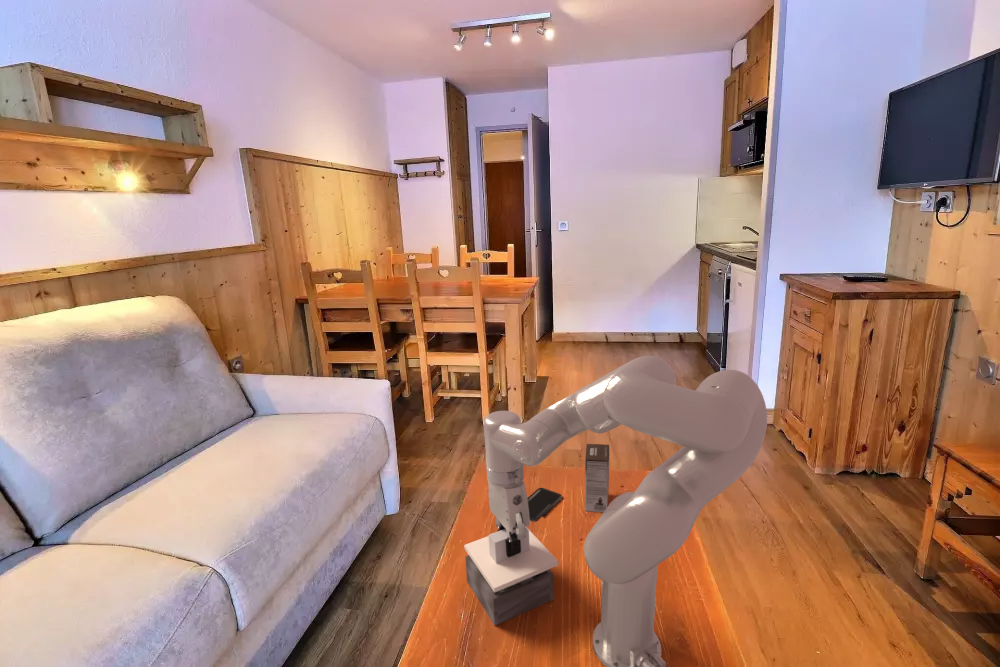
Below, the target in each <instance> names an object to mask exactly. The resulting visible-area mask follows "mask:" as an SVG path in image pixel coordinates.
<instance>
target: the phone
mask: <svg viewBox="0 0 1000 667" xmlns="http://www.w3.org/2000/svg"><path fill="white" fill-rule="evenodd" d="M527 499H528V507H529V518H530V522H532V523H533V522H537V521H538V520H540V519H541V518H544V517H545V516H546V515H547V514H548V513H549V512H550V511H551V510H552V509H553V508H554V507H555V506H556V505H557V504H558V503H559V502H560V501H561V500H562V499H563V496H562V494H561V493H558V492H555V491H552V490H551V489H548V488H545V487H538V488H537V489H536V490H535V491H534V492H533V493H532V494H530V495H529V496H527Z"/></svg>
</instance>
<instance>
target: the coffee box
mask: <svg viewBox="0 0 1000 667" xmlns="http://www.w3.org/2000/svg"><path fill="white" fill-rule="evenodd" d="M584 457H585V461H584V462H585V463H584V464H585V466H584V474H585V476H584V479H585V480H584V482H585V483H584V487H585V488H584V511H585V512H591V513H592V512H593V513H594V512H595V513H603V512H604V511H605V510H606V508H607V507H608V505H609V492H610V491H609V489H610V486H609V485H610V482H609V481H610V445H609V444H602V443H601V444H600V443H586V445H585V456H584Z"/></svg>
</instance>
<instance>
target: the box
mask: <svg viewBox="0 0 1000 667" xmlns="http://www.w3.org/2000/svg"><path fill="white" fill-rule="evenodd" d="M465 571H466V581H467V583H468V585H469V587H470V588H471V589H472V592H473V593H474V595H475V597H476V598H477V599H478V601H479V603H480V605H481V607H482V608H483V610H484V611H485V613H486V614H487V615H488V618H489V619H490V620H491V621H490V622H491V623H492V624H493V626H498V625H500V624H502V623H504V622H507V621H509V620H511V619H513V618H516V617H518V616H520V615H522V614H525V613H527V612H529V611H531V610H533V609H536V608H538V607H540V606H542V605H544V604H547V603H549V602H552V601H554V597H555V596H554V572H552V570H551V569H549V570H546V571H544V572H542V573H539V574H537V575H535V576H532V577H530V578H528V579H525V580H523V581H521V584H520V585H518V586H516V587H513V588H511V589H508V590H506V591H504V592H501V593H500V591H497V592H495V593H494V591H493V590H492V588H491V587H490V585H489V584H488V582H487V581H486V579H485V578H484V577H483V575H482V574H481V572H480V571H479V569H478V568H477V566H476V565H475V563H474V562H473V560H472V559H471V557H470V556H469V555H468V554H467V555H466V556H465Z"/></svg>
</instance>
